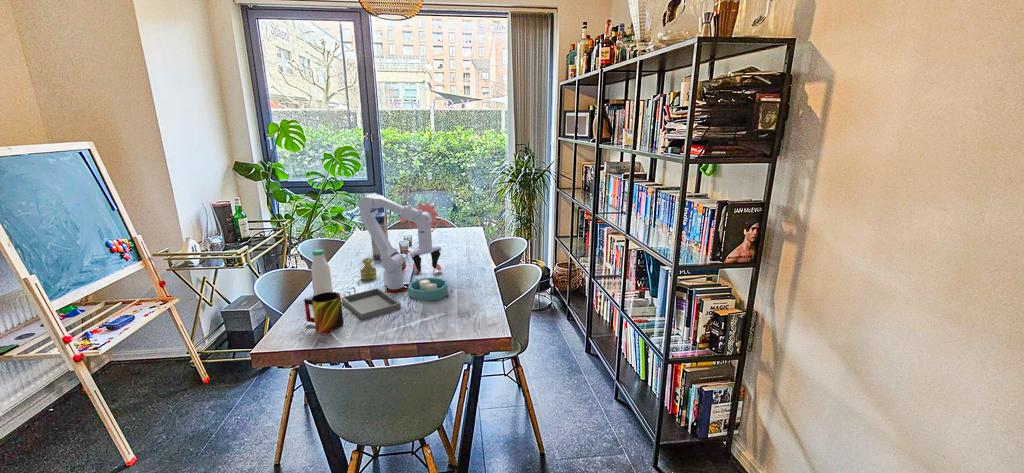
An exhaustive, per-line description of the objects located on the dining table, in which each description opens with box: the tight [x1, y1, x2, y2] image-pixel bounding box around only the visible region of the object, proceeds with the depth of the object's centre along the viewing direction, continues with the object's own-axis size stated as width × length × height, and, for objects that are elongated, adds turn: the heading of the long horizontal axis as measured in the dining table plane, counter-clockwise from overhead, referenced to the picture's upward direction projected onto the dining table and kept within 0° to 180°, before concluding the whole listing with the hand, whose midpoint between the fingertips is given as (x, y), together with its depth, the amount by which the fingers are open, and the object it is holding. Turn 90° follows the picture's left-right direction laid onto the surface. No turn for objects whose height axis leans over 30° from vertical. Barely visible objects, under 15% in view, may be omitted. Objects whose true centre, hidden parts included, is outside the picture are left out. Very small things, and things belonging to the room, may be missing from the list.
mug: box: [303, 291, 344, 334], centre depth 160 cm, size 10×14×12 cm
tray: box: [341, 287, 402, 321], centre depth 179 cm, size 22×16×3 cm
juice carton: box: [370, 211, 389, 260], centre depth 245 cm, size 12×8×24 cm, turn 10°
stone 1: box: [420, 280, 430, 291], centre depth 194 cm, size 4×4×4 cm
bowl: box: [407, 277, 449, 302], centre depth 192 cm, size 17×17×4 cm
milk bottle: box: [310, 248, 334, 296], centre depth 191 cm, size 8×8×20 cm
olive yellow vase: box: [359, 257, 377, 281], centre depth 211 cm, size 7×7×10 cm
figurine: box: [399, 202, 451, 276], centre depth 219 cm, size 15×26×35 cm, turn 82°
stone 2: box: [426, 283, 437, 290], centre depth 189 cm, size 4×4×4 cm
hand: (426, 269), depth 194 cm, fingers open, 7 cm apart
